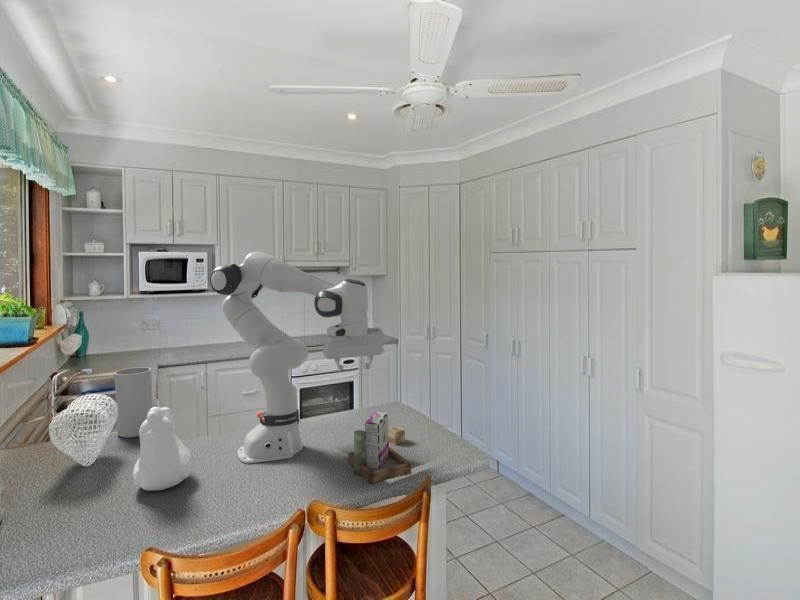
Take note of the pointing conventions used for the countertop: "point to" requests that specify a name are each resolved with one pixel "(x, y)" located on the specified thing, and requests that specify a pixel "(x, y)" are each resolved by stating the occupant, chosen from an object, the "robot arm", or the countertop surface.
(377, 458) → the candy bar box
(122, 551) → the countertop surface
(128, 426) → the cylinder vase
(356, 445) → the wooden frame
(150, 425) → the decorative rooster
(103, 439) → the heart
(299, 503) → the countertop surface
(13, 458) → the countertop surface
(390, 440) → the oak cube
